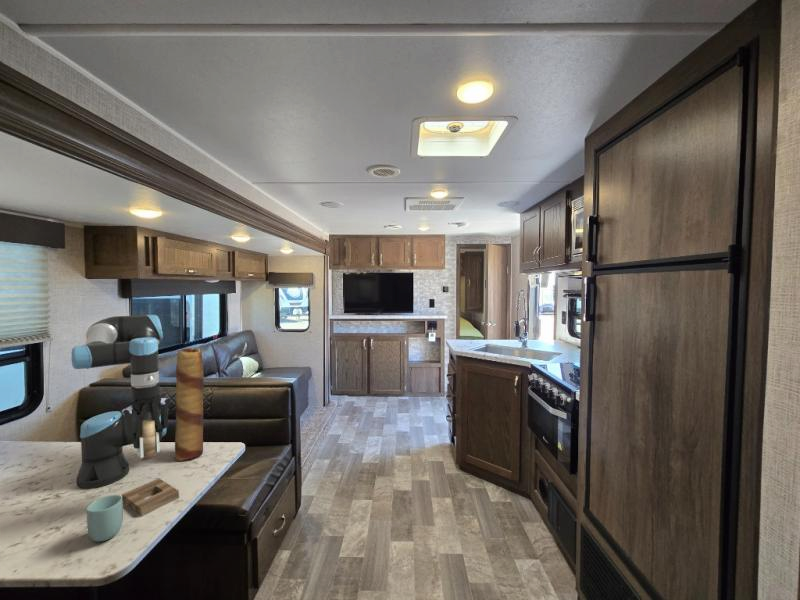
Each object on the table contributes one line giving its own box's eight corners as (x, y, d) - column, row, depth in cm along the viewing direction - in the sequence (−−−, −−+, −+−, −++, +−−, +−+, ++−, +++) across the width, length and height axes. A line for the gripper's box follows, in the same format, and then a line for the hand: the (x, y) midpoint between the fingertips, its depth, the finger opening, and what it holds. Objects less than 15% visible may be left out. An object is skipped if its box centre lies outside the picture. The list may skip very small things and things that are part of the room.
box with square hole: (122, 501, 116) (122, 494, 116) (159, 484, 125) (158, 478, 125) (141, 516, 109) (141, 508, 109) (178, 497, 118) (178, 490, 118)
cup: (102, 527, 104) (100, 495, 103) (129, 525, 105) (128, 493, 104) (80, 547, 96) (78, 512, 96) (110, 545, 97) (108, 511, 96)
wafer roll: (203, 447, 154) (203, 346, 151) (203, 458, 144) (203, 351, 142) (175, 452, 148) (175, 348, 146) (174, 464, 139) (173, 353, 137)
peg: (139, 457, 115) (137, 422, 115) (152, 452, 119) (151, 418, 118) (144, 461, 113) (143, 425, 113) (158, 455, 117) (156, 421, 116)
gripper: (119, 393, 105) (122, 468, 107) (178, 380, 120) (181, 446, 121) (109, 389, 109) (112, 461, 111) (168, 377, 124) (170, 440, 125)
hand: (148, 453), depth 116 cm, fingers closed on peg, 4 cm apart
